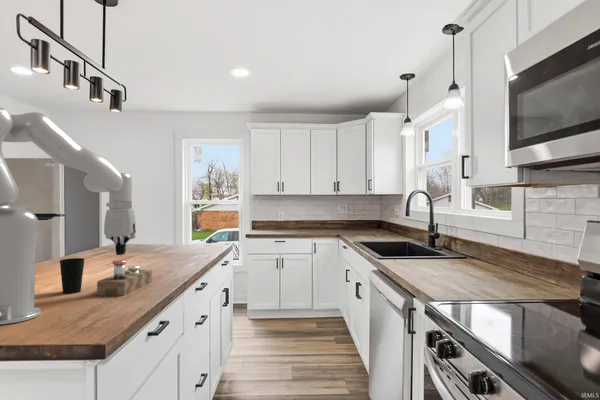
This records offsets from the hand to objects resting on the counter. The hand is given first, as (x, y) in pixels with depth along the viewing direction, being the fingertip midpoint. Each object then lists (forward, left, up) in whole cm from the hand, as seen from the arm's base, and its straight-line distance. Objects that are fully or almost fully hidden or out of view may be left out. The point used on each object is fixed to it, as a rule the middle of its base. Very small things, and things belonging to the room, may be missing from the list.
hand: (120, 254), depth 130 cm
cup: (-2, +17, -14) cm, 22 cm away
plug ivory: (+11, 0, -13) cm, 17 cm away
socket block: (+5, 0, -14) cm, 15 cm away
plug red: (0, 0, -9) cm, 9 cm away
